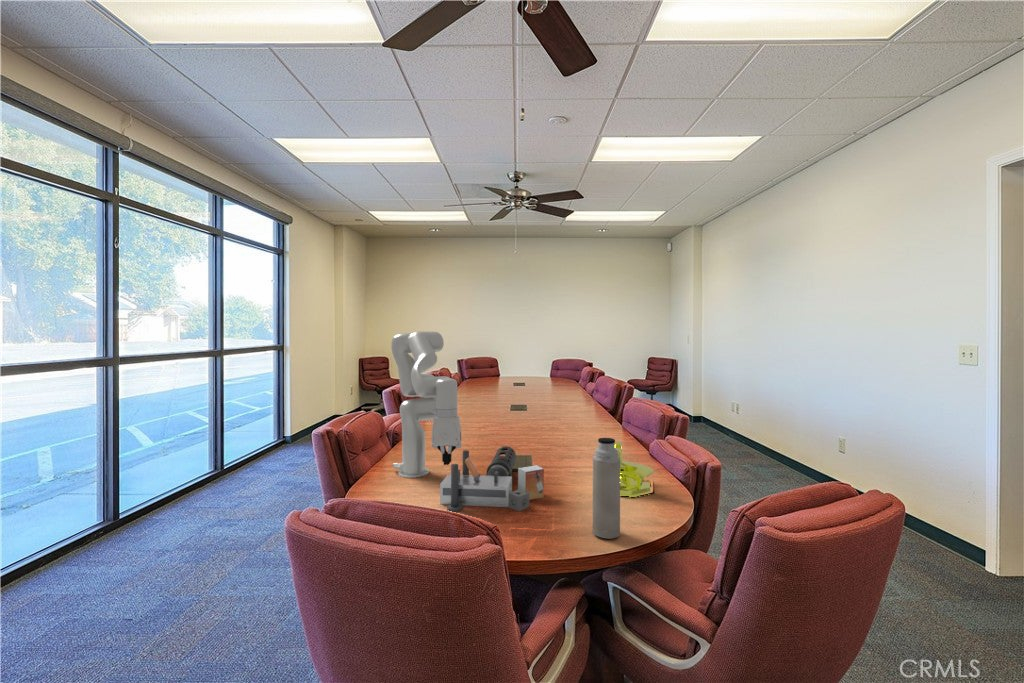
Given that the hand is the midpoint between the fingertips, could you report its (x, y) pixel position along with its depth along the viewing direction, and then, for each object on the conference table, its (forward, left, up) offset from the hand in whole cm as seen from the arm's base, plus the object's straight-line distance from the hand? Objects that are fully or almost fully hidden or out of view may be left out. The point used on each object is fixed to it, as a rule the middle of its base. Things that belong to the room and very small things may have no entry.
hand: (446, 463), depth 158 cm
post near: (+5, -9, -13) cm, 16 cm away
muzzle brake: (+17, +24, -13) cm, 32 cm away
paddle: (+11, 0, -4) cm, 12 cm away
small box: (+30, +5, -13) cm, 33 cm away
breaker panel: (+11, 0, -12) cm, 17 cm away
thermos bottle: (+54, -22, -13) cm, 60 cm away
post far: (+5, +9, -13) cm, 16 cm away
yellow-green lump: (+68, +21, -13) cm, 72 cm away
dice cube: (+26, -5, -13) cm, 30 cm away
